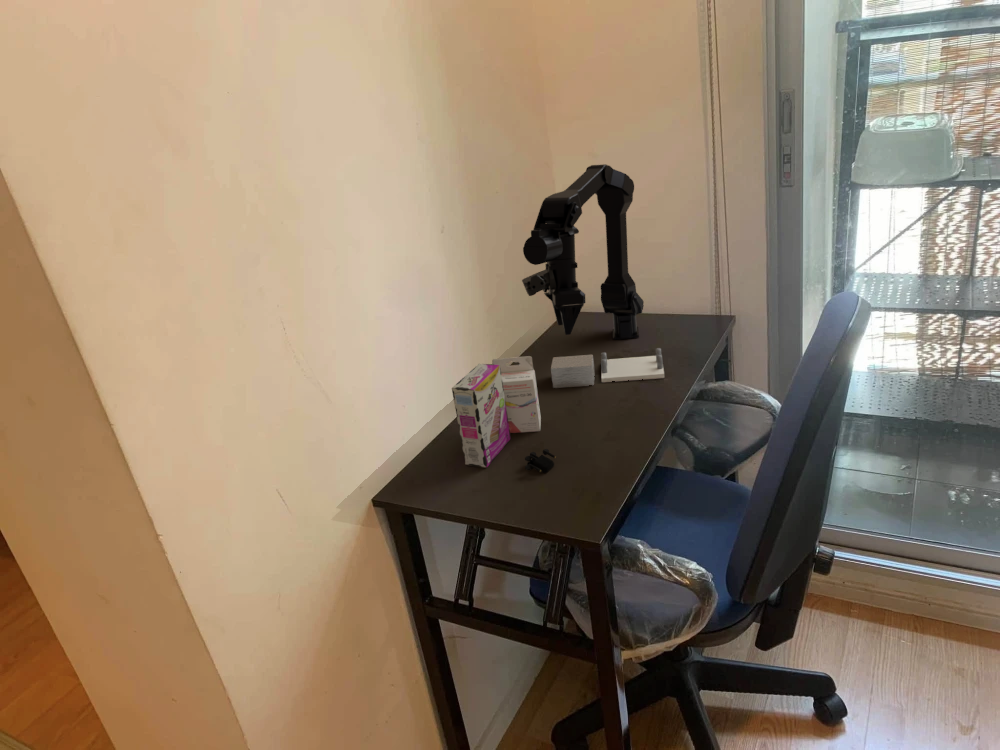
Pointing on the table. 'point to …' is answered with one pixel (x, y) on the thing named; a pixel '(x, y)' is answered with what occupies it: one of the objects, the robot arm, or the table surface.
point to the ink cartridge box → (520, 394)
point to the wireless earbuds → (539, 462)
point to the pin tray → (632, 368)
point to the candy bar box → (481, 414)
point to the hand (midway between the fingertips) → (564, 329)
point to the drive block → (572, 371)
